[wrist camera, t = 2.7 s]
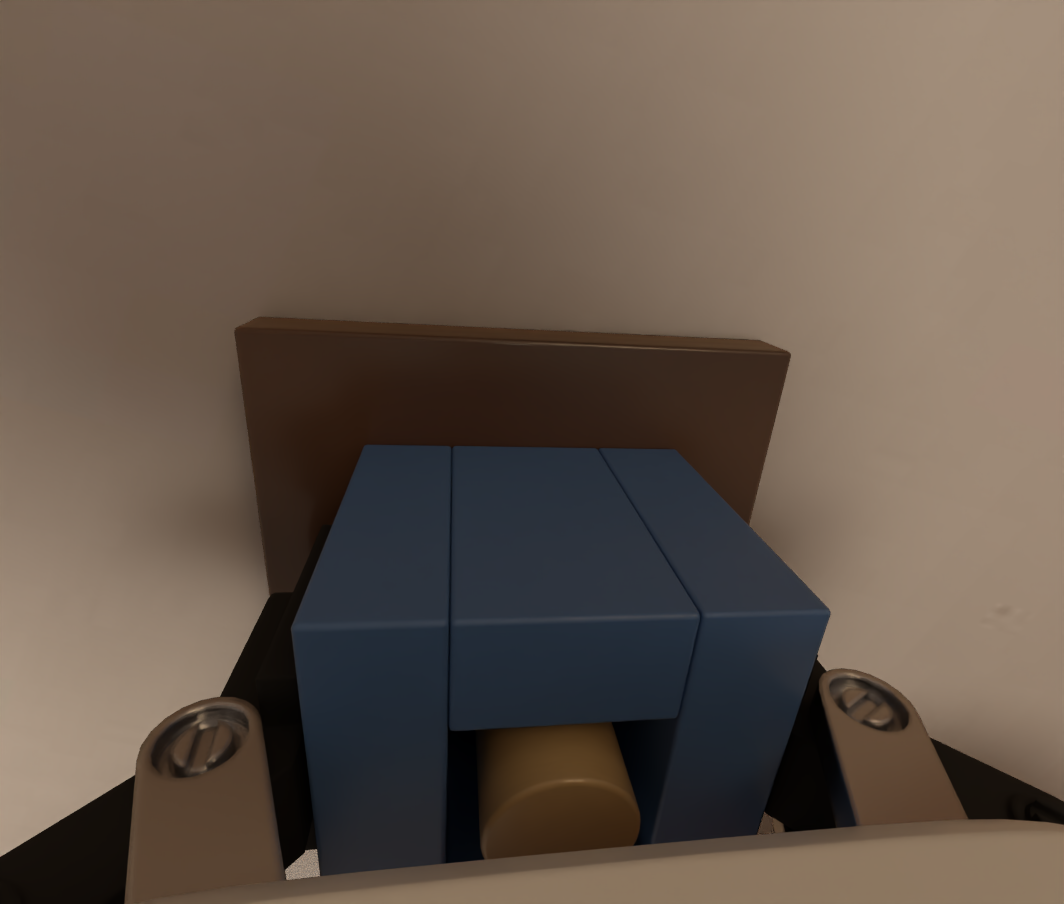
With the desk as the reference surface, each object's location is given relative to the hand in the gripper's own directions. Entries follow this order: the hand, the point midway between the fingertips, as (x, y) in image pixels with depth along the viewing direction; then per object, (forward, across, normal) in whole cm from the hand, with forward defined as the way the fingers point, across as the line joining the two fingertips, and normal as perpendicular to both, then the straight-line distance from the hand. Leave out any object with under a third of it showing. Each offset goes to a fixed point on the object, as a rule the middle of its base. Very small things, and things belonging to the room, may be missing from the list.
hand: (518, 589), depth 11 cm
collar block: (0, 0, 0) cm, 0 cm away
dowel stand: (+2, 0, 0) cm, 2 cm away
